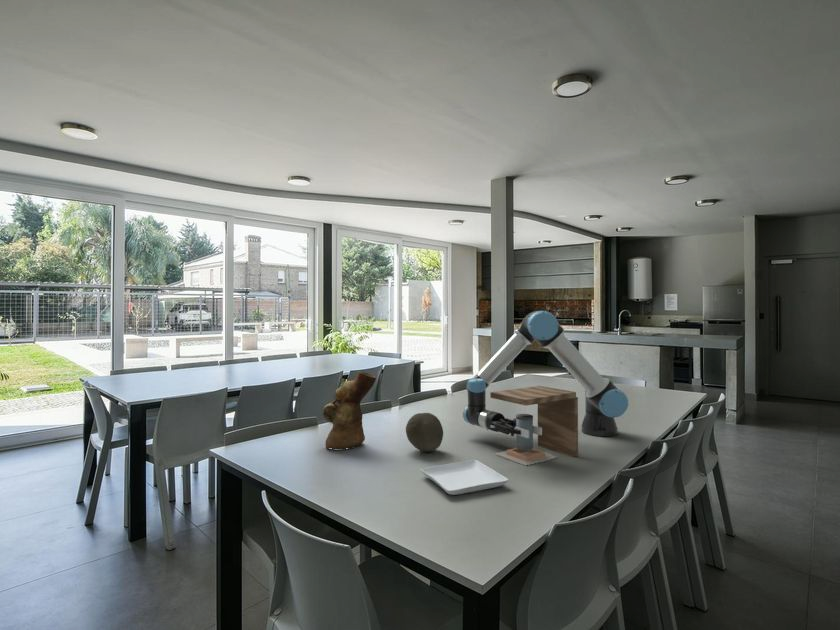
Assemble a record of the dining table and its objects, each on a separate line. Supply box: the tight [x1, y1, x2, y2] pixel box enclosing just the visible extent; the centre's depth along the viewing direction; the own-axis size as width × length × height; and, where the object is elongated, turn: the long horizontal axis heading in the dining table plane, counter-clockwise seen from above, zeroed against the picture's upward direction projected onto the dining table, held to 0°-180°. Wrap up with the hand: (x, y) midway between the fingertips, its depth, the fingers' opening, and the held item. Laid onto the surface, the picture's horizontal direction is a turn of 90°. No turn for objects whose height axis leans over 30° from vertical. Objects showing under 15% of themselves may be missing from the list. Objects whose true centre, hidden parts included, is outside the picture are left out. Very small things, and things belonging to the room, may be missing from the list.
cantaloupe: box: [405, 412, 444, 453], centre depth 181 cm, size 14×14×15 cm
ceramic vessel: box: [322, 370, 377, 449], centre depth 191 cm, size 16×22×30 cm
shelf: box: [489, 385, 579, 458], centre depth 174 cm, size 27×18×24 cm, turn 123°
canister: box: [515, 413, 534, 450], centre depth 175 cm, size 6×6×12 cm
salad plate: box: [420, 459, 509, 496], centre depth 149 cm, size 21×21×3 cm
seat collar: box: [494, 447, 558, 467], centre depth 175 cm, size 16×16×2 cm
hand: (534, 432), depth 171 cm, fingers closed on canister, 6 cm apart
